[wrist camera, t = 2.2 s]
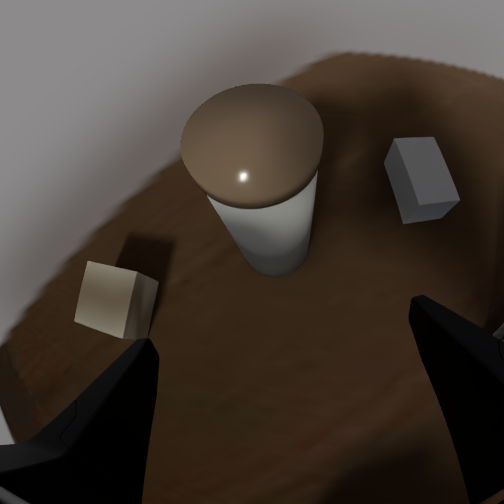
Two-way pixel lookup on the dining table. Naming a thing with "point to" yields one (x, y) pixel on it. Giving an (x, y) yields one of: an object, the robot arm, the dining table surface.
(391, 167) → the grey block
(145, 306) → the birch block
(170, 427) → the dining table surface
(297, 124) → the ceramic jar
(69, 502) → the robot arm
